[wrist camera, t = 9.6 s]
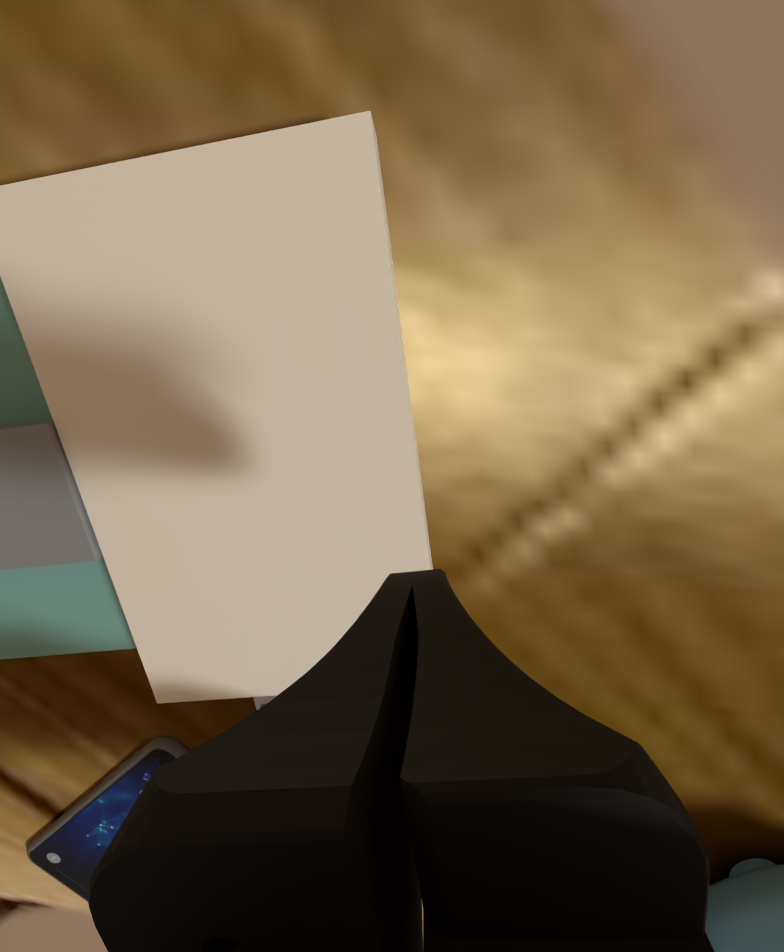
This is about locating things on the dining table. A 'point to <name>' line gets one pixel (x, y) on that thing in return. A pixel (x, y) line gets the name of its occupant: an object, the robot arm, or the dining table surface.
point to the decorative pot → (747, 909)
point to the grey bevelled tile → (40, 501)
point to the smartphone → (98, 818)
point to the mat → (56, 586)
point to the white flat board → (227, 392)
